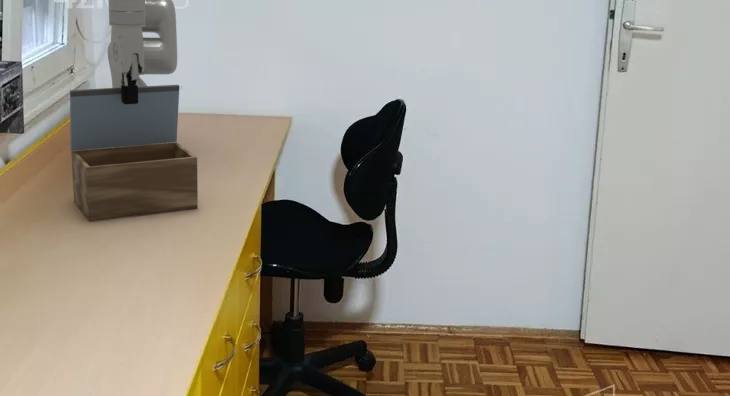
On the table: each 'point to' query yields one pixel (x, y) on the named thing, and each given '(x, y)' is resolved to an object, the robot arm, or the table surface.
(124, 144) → the lid flap
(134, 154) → the wooden box
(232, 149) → the table surface
